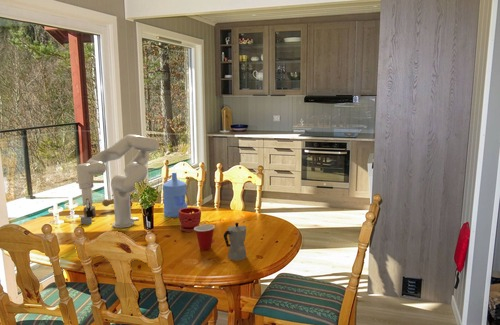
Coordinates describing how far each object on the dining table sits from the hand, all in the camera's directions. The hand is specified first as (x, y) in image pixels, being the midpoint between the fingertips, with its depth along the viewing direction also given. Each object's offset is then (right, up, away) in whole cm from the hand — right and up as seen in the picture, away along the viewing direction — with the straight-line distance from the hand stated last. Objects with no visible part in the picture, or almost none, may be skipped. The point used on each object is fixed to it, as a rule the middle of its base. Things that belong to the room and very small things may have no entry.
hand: (90, 215), depth 239 cm
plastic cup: (+69, -15, -21) cm, 73 cm away
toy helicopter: (0, -2, +52) cm, 52 cm away
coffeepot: (+85, -17, -33) cm, 93 cm away
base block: (-10, -8, +21) cm, 25 cm away
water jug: (+43, -4, +38) cm, 57 cm away
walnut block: (0, -1, 0) cm, 1 cm away
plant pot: (+57, -10, +8) cm, 58 cm away
